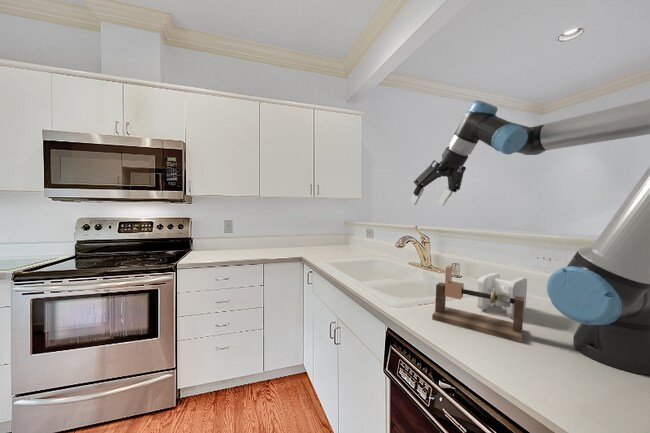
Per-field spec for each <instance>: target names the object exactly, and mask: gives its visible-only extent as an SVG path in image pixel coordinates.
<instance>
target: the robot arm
mask: <svg viewBox="0 0 650 433" xmlns="http://www.w3.org/2000/svg"><path fill="white" fill-rule="evenodd" d="M497 112H498V107H497V106H495V105H493V104H491V103H488V102H486V101H482V100H479V99H476V100H474V101H472V102H471V104H470V106H469V107H468V109H467V110H466V111H465V114H464V116H463V117H462V120H461V122H460V123H459V125H458V127H457V128H456V130H455V132H454V134H453V136H452V138H451V139H450V141H449V143H448V144H447V147H446V148H445V150H444V151H443V153H442V155H441V160H440V161H439V162H438V161H436V159H435V160H432V162H431V163H430V164H429V166H428V167H427V168H426V169H425V170H424V171H423V172H422V173H421V174H419V175H418V176H417V178H416V179H415V180H413V183H414V184H415V186H416V187H415V188H414V191H413V194H412V196H411V198H410V200H409V201H410V202H411V203H412V204H413V205H417V204H418V202H419V199H420V198H421V196H422V194H423V193H424V191H425V189H424V188H425V187H427V186H428V185H429V184H431V183H432V182H434V181H435V180H437V179H439V178H441V177H446V178H447V184H448V187H445V189H444V190H443V192H442V194H441V195H440V198H438V200H437V203H438V204H439V205H440V206H441V207H444V205H445V204H446V203H447V201H448V199H449V198H450V197H451V196H452V195H453V193H457V191H460V190H461V186H462V182H463V177H464V173H465V171H466V170H467V167H466V166H464V165H465V163H466V162H467V160H468V158H469V156H470V155H472V152H473V151H474V149H475V147H476V146H477V144H478V142H479V141H480V142H483V143H484V144H486V145H488V146H490V147H491V148H493V149H494V150H495V151H497V152H500V153H502V154H504V155H512V154H514V153H518V154H522V155H525V156H537V155H541V154H543V153H544V152H546V151H552V150H557V149H558V150H559V149H563V148H565V149H566V148H569V147H570V148H571V147H576V146H583V145H588V144H589V145H590V144H596V143H600V142H601V143H602V142H611V141H615V140H622V139H628V138H634V137H640V136H647V135H650V98H648V99H645V100H639V101H636V102H632V103H628V104H624V105H619V106H614V107H610V108H605V109H601V110H598V111H594V112H593V111H592V112H591V113H585V114H582V115H580V114H579V115H577V116H572V117H568V118H565V119H560V120H556V121H550V122H546V123H544V124H540V125H535V126H527V125H522V124H519V123H516V122H511V121H509V120H506V119H504V118H501V117H499V116H497ZM546 293H547V296H549V300H550V302H551V304H552V305H553V307H554V308H555V309H556V310H557V311H558V312H559V313H561V314H562V315H563V316H565V317H566V318H568V319H569V320H571V321H574V322H577V323H579V326H578V327H577V329H576V331H575V332H574V334H573V338H572V339H573V340H572V346H573V347H574V348H575V350H577V352H579V353H581V354H582V355H585V356H586V357H588V358H590V359H593V360H594V361H597V362H599V363H602V364H605V365H607V366H610V367H613V368H617V369H620V370H623V371H626V372H627V371H628V372H631V373H636V374H641V375H645V376H646V375H647V376H650V165H648V167H647V169H646V170H645V171H644V173H643V175H642V176H641V177H640V179H639V180H638V182H637V183H636V184H635V186H634V187H633V188H632V190H631V191H630V193H629V195H628V196H627V197H626V198H625V200H624V201H623V203H622V204H621V205H620V207H619V208H618V209H617V211H616V213H614V215H613V217H612V218H611V219H610V220H609V222H608V223H607V225H606V226H605V228H604V230H603V231H602V232H601V233H600V235H599V236H598V238H597V239H596V240H595V242H594V243H593V245H591V246H587V247H580V248H579V249H578V250H577V251H576V252H575V253H574V255H573V256H572V259H571V260H570V261H569V263H568V264H567V265H566V266H564V267H560V268H558V270H556V271H554V272H553V273H551V275H550V276H549V278H548V280H547V283H546Z"/></svg>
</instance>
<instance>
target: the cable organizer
mask: <svg viewBox="0 0 650 433" xmlns="http://www.w3.org/2000/svg"><path fill="white" fill-rule="evenodd" d="M477 284H478V285H477V287H478V288H477V292H482V293H487V294H491V291H492V292H496V295H497V293H498V292H504V293H509V294H511V298H514V299H515V296H518V297H524V308H523V312H525V309H526V307H527V305H526V304H527V291H528V288H527V287H528V279H527V277H521V276H520V277H518V278H515V279H513V280H506V279H501V275H500V274H499V273H497V272H492V273H488V274H485V275H482V276H481V277H479V278H478V279H477ZM494 306H495V307H498V308H501V309H502V311H503V312H505V311H506V315H507V316H508V317H509V318H511V319H514V304H513V303H510V307H506V306H501V305H497V300H495V303H492V302H491V299H487V298H482V297H477V309H480V310H482V311H485V310H487V309H489V308H491V309H494Z"/></svg>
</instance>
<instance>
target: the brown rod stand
mask: <svg viewBox="0 0 650 433" xmlns="http://www.w3.org/2000/svg"><path fill="white" fill-rule="evenodd" d="M462 294H463V295H466V296H467V295H468V296H472V297H477V298H478V297H482V298H487V299H491V302H492V303H495V300H497V305H501V306H506V307H510V303H513V304H514V318H513V320H512V321H510V320H509V321H508V320H503V319H501V318H500V319H499V318H496V317H490V316H487V315H482V314H479V313H474V312H470V311H465V310H461V309H457V308H452V307H447V306H446V296H445V282H440V281H439V282H438V283H437V284H436V287H435V306H434V309H435V310H434V312H433V313H432V316H431V320H433V321H437V322H440V323H445V324H448V325H452V326H456V327H460V328H463V329H466V330H472V331H475V332H479V333H483V334H486V335H490V336H493V337H497V338H502V339H505V340H509V341H513V342H517V343H520V344H522V343H523V326H524V324H523V323H524V322H523V321H524V311H523V308H524V297H518V296H515V299H514V298H511V294H509V293H504V292H498V293H497V295H496V292H492V291H491V294H487V293H482V292H478V291H476V290H472V289H471V290H469V289H465V288H464V289H462Z"/></svg>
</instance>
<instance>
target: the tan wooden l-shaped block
mask: <svg viewBox="0 0 650 433" xmlns="http://www.w3.org/2000/svg"><path fill="white" fill-rule="evenodd" d="M444 283H445V296H446V297H447V298H451V299H458V300H462V299H463V297H464V294H462V289H465V288H464V287H465V286H464V282H457V281H453V265H451V264H449V265H448V264H447V266H445V281H444Z"/></svg>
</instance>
